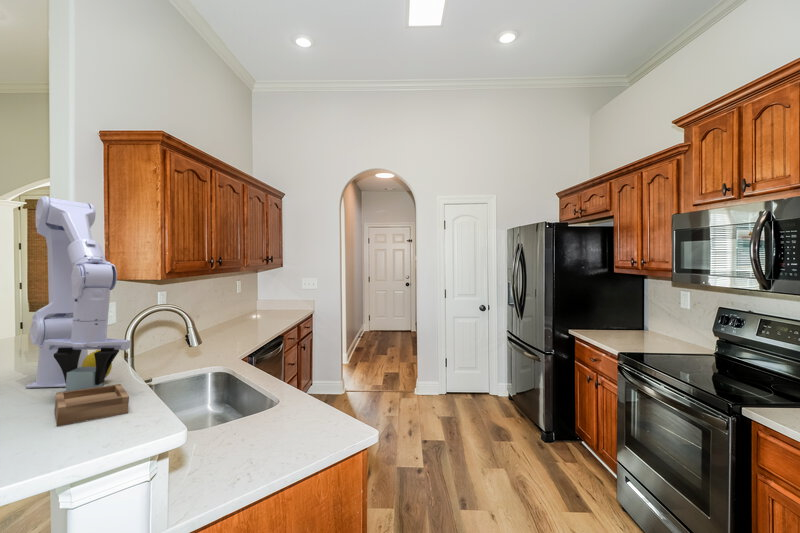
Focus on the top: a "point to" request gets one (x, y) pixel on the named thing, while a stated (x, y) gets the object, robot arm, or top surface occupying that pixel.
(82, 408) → the walnut base
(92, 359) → the lemon
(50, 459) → the top surface
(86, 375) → the block
